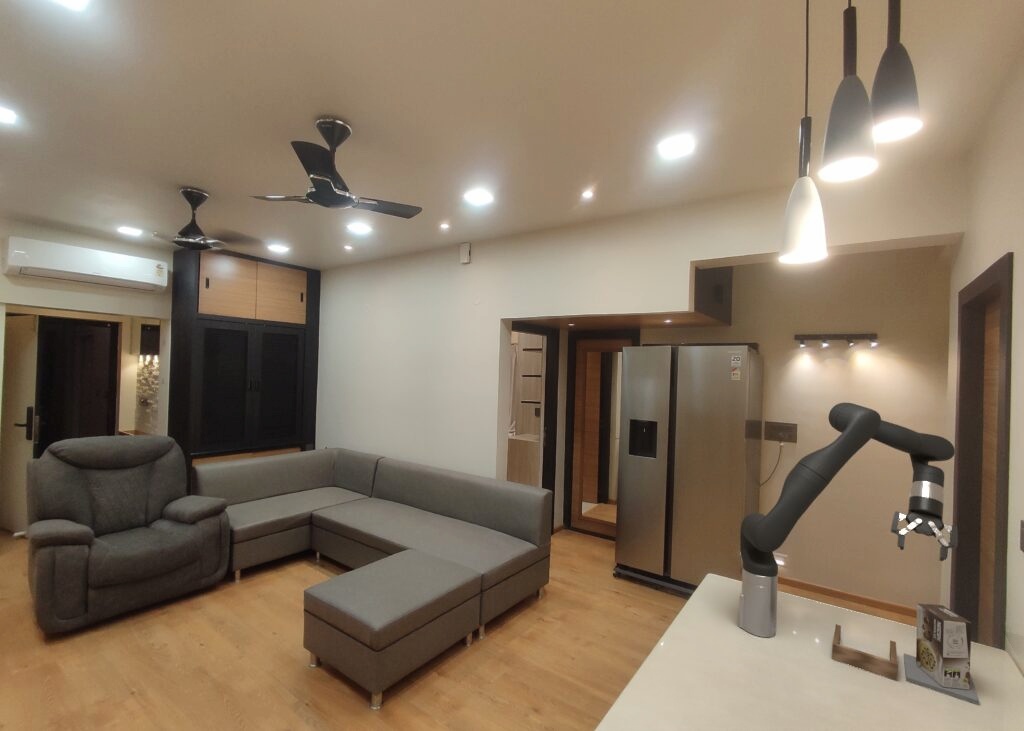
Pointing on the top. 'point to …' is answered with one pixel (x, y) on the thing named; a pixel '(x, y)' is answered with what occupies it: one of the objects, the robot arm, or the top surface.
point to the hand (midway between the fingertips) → (921, 554)
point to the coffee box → (943, 645)
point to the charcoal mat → (925, 680)
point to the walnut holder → (865, 658)
